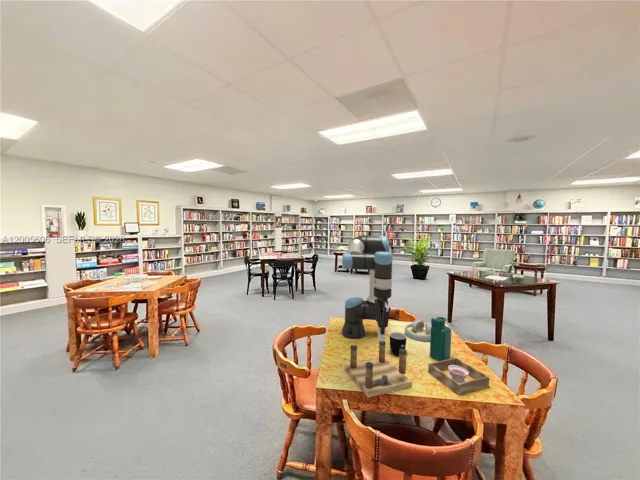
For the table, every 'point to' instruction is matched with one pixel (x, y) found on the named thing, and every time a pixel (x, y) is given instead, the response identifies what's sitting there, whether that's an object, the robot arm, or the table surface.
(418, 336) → the headphones
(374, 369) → the stool top
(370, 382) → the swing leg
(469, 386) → the cup coaster tray
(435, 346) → the green bottle
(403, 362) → the loose leg
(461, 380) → the teacup
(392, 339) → the mug
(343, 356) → the table surface
